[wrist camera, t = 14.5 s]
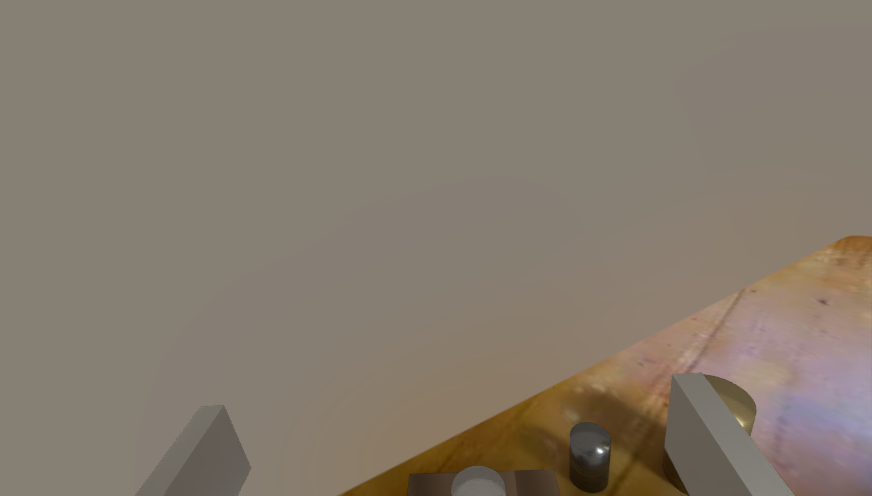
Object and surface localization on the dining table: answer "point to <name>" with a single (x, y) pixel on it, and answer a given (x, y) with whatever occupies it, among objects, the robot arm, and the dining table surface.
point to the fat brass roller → (736, 403)
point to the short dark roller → (589, 457)
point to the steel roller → (478, 482)
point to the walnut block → (525, 489)
